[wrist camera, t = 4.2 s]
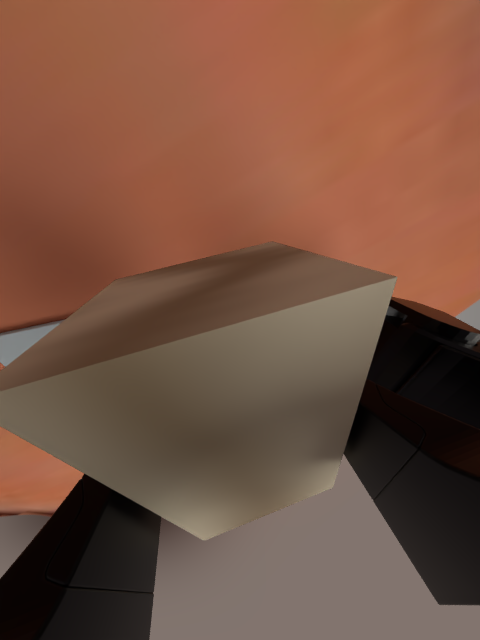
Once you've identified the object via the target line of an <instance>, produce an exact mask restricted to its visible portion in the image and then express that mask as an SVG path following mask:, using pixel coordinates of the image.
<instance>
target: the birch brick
mask: <svg viewBox="0 0 480 640" xmlns="http://www.w3.org/2000/svg"><path fill="white" fill-rule="evenodd" d="M396 280H397V277H396V276H392V275H389V274H385V273H382V272H378V271H375V270H371V269H368V268H364V267H361V266H357V265H354V264H350V263H347V262H343V261H339V260H336V259H332V258H329V257H325V256H322V255H318V254H315V253H311V252H308V251H304V250H301V249H297V248H294V247H290V246H286V245H283V244H279V243H276V242H268V243H264V244H260V245H256V246H251V247H247V248H243V249H239V250H235V251H231V252H227V253H223V254H219V255H215V256H210V257H206V258H202V259H198V260H194V261H190V262H186V263H182V264H178V265H174V266H169V267H165V268H161V269H157V270H153V271H149V272H145V273H141V274H137V275H133V276H128V277H124V278H120V279H116V280H114V281H113V282H112V283H111V284H109V285H108V286H107V287H106V288H104V289H103V290H102V291H101V292H99V293H98V294H97V295H96V296H94V297H93V298H92V299H91V300H89V301H88V302H87V303H85V304H84V305H83V306H82V307H80V308H79V309H78V310H77V311H75V312H74V313H73V314H72V315H70V316H69V317H68V318H67V319H65V320H64V321H63V322H61V323H60V324H59V325H58V326H56V327H55V328H54V329H53V330H51V331H50V332H49V333H48V334H46V335H45V336H44V337H43V338H41V339H40V340H39V341H38V342H36V343H35V344H34V345H32V346H31V347H30V348H29V349H27V350H26V351H25V352H24V353H22V354H21V355H20V356H19V357H17V358H16V359H15V360H14V361H12V362H11V363H10V364H9V365H7V366H6V367H5V368H3V369H2V370H1V371H0V426H1V427H3V428H5V429H6V430H8V431H10V432H12V433H14V434H15V435H17V436H19V437H21V438H22V439H24V440H26V441H28V442H30V443H31V444H33V445H35V446H37V447H38V448H40V449H42V450H44V451H46V452H47V453H49V454H51V455H53V456H54V457H56V458H58V459H60V460H62V461H63V462H65V463H67V464H69V465H70V466H72V467H74V468H76V469H77V470H79V471H81V472H83V473H85V474H86V475H88V476H90V477H92V478H93V479H95V480H97V481H99V482H101V483H102V484H104V485H106V486H108V487H109V488H111V489H113V490H115V491H117V492H118V493H120V494H122V495H124V496H125V497H127V498H129V499H131V500H133V501H134V502H136V503H138V504H140V505H141V506H143V507H145V508H147V509H149V510H150V511H152V512H154V513H156V514H157V515H159V516H161V517H163V518H165V519H166V520H168V521H170V522H172V523H173V524H175V525H177V526H179V527H181V528H182V529H184V530H186V531H188V532H189V533H192V534H193V535H195V536H197V537H198V538H200V539H202V540H207V539H210V538H212V537H215V536H217V535H219V534H222V533H224V532H227V531H229V530H232V529H234V528H236V527H239V526H241V525H244V524H246V523H248V522H251V521H253V520H256V519H258V518H261V517H263V516H265V515H268V514H270V513H273V512H275V511H278V510H280V509H282V508H285V507H287V506H290V505H292V504H294V503H297V502H299V501H302V500H304V499H307V498H309V497H311V496H314V495H316V494H319V493H321V492H324V491H326V490H328V489H331V488H333V486H334V483H335V479H336V476H337V473H338V470H339V466H340V463H341V460H342V456H343V453H344V450H345V447H346V443H347V440H348V437H349V434H350V430H351V427H352V424H353V421H354V417H355V414H356V411H357V408H358V404H359V401H360V398H361V394H362V391H363V388H364V385H365V381H366V378H367V375H368V372H369V368H370V365H371V362H372V359H373V355H374V352H375V349H376V345H377V342H378V339H379V336H380V332H381V329H382V326H383V323H384V319H385V316H386V313H387V310H388V306H389V303H390V300H391V296H392V293H393V290H394V287H395V283H396Z"/></svg>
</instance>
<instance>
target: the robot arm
mask: <svg viewBox="0 0 480 640" xmlns="http://www.w3.org/2000/svg"><path fill="white" fill-rule="evenodd" d="M343 454H344V455H345V456H346V458H347V460H348V462H349V463H350V465H351V466H352V468H353V469H354V471H355V473H356V474H357V476H358V477H359V479H360V480H361V482H362V484H363V485H364V487H365V488H366V490H367V491H368V493H369V495H370V496H371V498H372V499H373V501H374V503H375V505H376V506H377V508H378V509H379V511H380V512H381V514H382V516H383V517H384V519H385V520H386V522H387V524H388V525H389V527H390V528H391V530H392V532H393V533H394V535H395V536H396V538H397V539H398V541H399V543H400V544H401V546H402V547H403V549H404V551H405V552H406V554H407V555H408V557H409V559H410V560H411V562H412V563H413V565H414V566H415V568H416V570H417V571H418V573H419V574H420V576H421V578H422V579H423V581H424V582H425V584H426V586H427V587H428V589H429V590H430V592H431V593H432V595H433V596H434V598H435V599H436V601H437V602H438V604H439V605H480V330H478V329H476V328H474V327H472V326H470V325H468V324H466V323H464V322H462V321H461V320H459V319H456V318H455V317H453V316H451V315H449V314H447V313H445V312H443V311H440V310H437V309H434V308H431V307H428V306H426V305H423V304H420V303H417V302H414V301H409V300H404V299H400V298H395V297H391V300H390V303H389V306H388V310H387V313H386V316H385V319H384V323H383V326H382V329H381V332H380V336H379V339H378V342H377V345H376V349H375V352H374V355H373V359H372V362H371V365H370V368H369V372H368V375H367V378H366V381H365V385H364V388H363V391H362V394H361V398H360V401H359V404H358V408H357V411H356V414H355V417H354V421H353V424H352V427H351V430H350V434H349V437H348V440H347V443H346V447H345V450H344V453H343ZM160 524H161V516H159V515H157V514H156V513H154V512H152V511H150V510H149V509H147V508H145V507H143V506H141V505H140V504H138V503H136V502H134V501H133V500H131V499H129V498H127V497H125V496H124V495H122V494H120V493H118V492H117V491H115V490H113V489H111V488H109V487H108V486H106V485H104V484H102V483H101V482H99V481H97V480H95V479H93V478H92V477H90V476H88V475H86V474H84V475H83V477H82V479H80V480H79V481H78V483H77V484H76V485H75V487H74V488H73V489H72V491H71V492H70V493H69V495H68V496H67V497H66V499H65V500H64V501H63V502H62V504H61V505H60V506H59V508H58V509H57V510H56V511H55V513H54V514H53V515H52V517H51V518H50V519H49V520H48V522H47V523H46V524H45V525H44V526H43V528H42V529H41V530H40V531H39V533H38V534H37V535H36V536H35V538H34V539H33V540H32V542H31V543H30V544H29V545H28V546H27V547H26V549H25V550H24V551H23V552H22V553H21V555H20V556H19V557H18V558H17V559H16V561H15V562H14V563H13V564H12V565H11V567H10V568H9V569H8V570H7V571H6V573H5V574H4V575H3V576H2V577H1V579H0V640H149V637H150V636H149V635H150V627H151V617H152V606H153V596H154V594H153V592H154V585H155V575H156V564H157V555H158V545H159V534H160Z"/></svg>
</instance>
